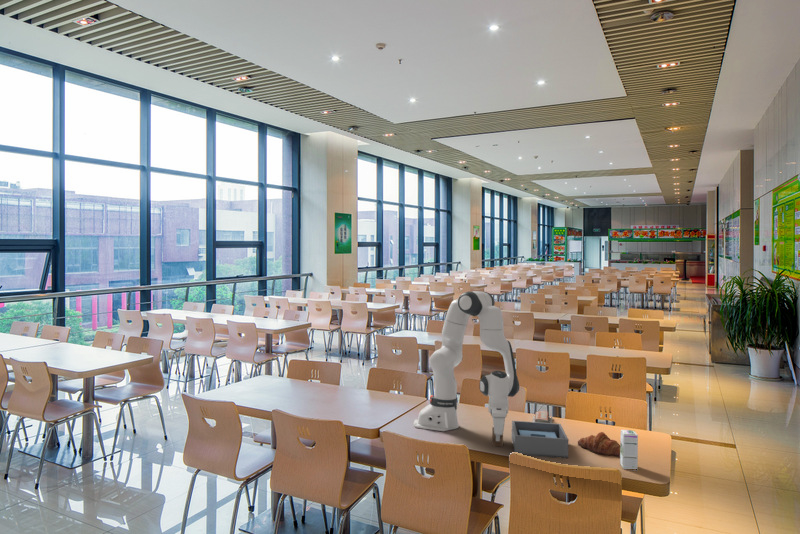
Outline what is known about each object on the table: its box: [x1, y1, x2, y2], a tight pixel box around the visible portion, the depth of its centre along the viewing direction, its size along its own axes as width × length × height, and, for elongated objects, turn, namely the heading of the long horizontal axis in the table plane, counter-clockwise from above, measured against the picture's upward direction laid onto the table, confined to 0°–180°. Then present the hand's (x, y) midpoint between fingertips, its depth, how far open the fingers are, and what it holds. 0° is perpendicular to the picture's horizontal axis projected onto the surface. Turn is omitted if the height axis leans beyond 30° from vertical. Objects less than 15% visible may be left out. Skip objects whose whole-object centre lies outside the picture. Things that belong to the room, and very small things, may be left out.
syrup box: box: [619, 429, 639, 470], centre depth 219 cm, size 6×6×14 cm
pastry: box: [577, 431, 620, 457], centre depth 238 cm, size 17×15×8 cm
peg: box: [491, 426, 504, 447], centre depth 242 cm, size 4×4×7 cm
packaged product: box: [531, 410, 554, 423], centre depth 277 cm, size 18×5×10 cm
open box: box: [511, 420, 569, 459], centre depth 240 cm, size 22×22×8 cm
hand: (497, 438), depth 242 cm, fingers closed on peg, 4 cm apart
